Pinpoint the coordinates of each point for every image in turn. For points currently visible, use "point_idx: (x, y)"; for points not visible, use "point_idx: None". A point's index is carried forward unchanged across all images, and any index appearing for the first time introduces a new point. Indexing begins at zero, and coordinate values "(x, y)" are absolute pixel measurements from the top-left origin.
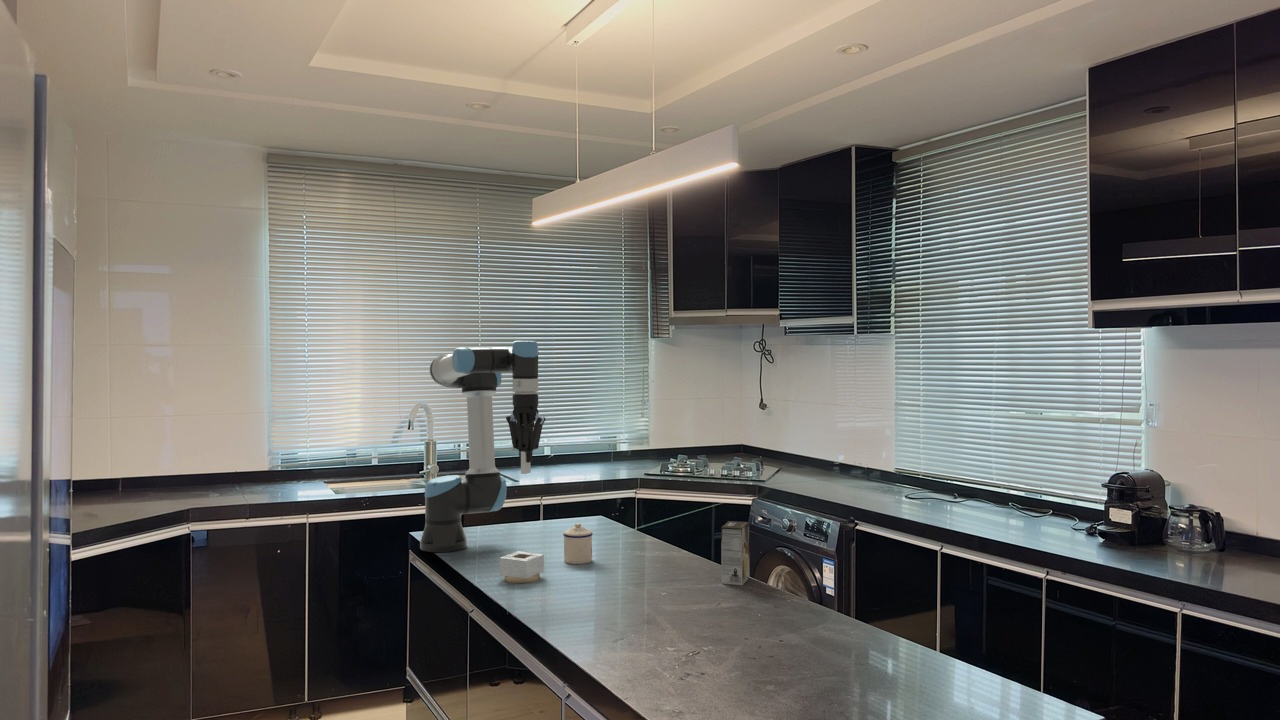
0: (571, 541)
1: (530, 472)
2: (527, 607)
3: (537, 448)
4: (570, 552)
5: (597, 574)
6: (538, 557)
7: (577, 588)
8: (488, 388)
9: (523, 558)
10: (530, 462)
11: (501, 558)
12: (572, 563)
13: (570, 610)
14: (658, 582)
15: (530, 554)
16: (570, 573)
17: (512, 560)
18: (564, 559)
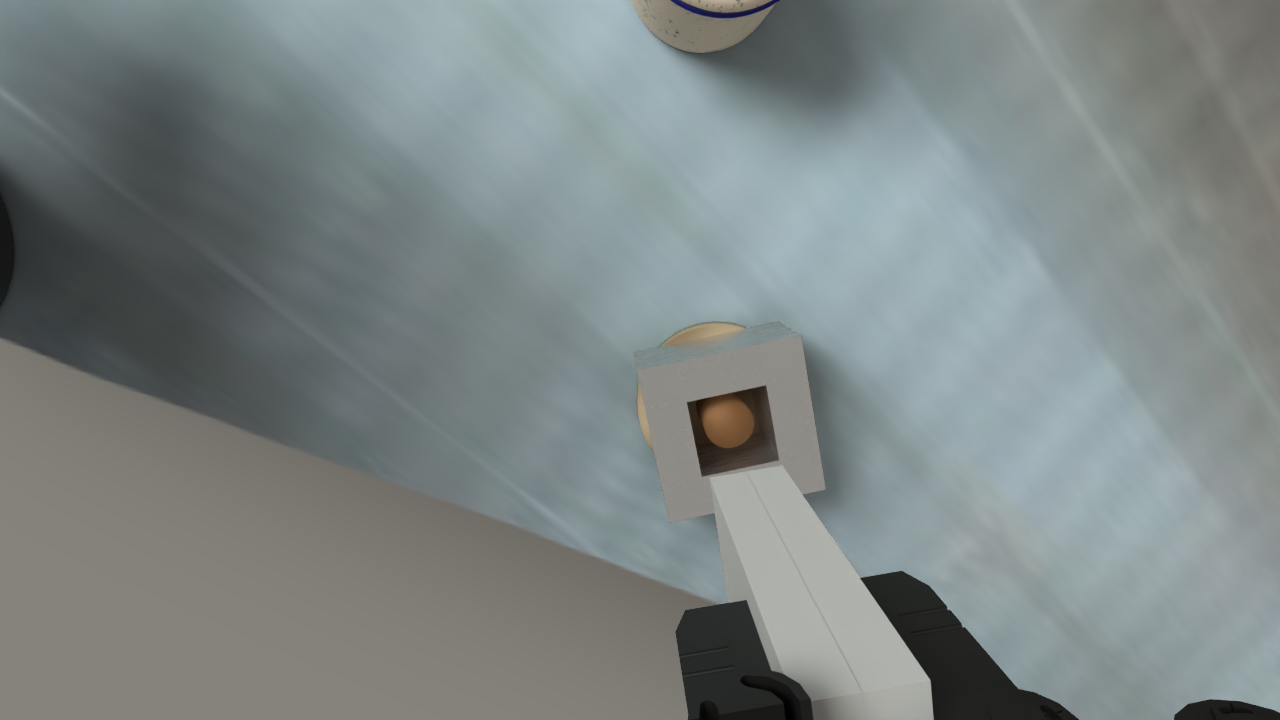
0: (743, 18)
1: (783, 469)
2: (1005, 643)
3: (1251, 715)
4: (724, 38)
5: (952, 125)
6: (807, 383)
7: (1013, 359)
8: None
9: (720, 406)
10: (828, 535)
11: (679, 519)
12: (725, 48)
13: (1157, 576)
14: (1274, 54)
15: (745, 381)
16: (833, 194)
17: None
18: (661, 38)
